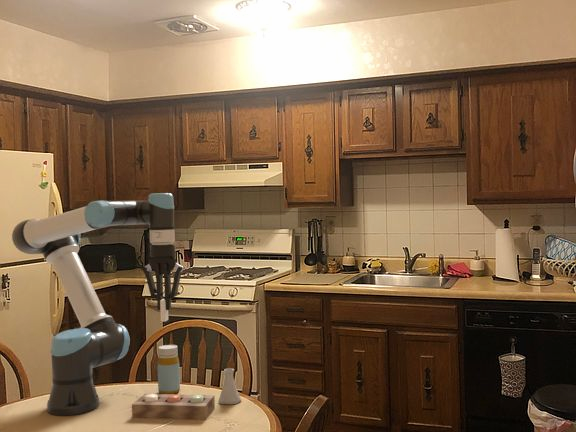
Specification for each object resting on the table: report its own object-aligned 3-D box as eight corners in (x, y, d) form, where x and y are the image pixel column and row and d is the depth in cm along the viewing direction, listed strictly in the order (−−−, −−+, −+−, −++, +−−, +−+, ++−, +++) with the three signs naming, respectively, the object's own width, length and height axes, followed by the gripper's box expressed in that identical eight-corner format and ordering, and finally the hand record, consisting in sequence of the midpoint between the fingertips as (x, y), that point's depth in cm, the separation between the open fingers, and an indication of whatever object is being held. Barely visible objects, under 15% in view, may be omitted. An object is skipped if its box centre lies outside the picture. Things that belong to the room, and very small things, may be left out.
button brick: (165, 410, 181) (165, 398, 181) (170, 406, 185) (169, 394, 185) (178, 410, 181) (177, 398, 181) (182, 406, 184) (181, 394, 184)
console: (132, 417, 180) (131, 404, 180) (145, 406, 189) (144, 393, 189) (205, 420, 176) (205, 406, 176) (214, 408, 186) (214, 395, 186)
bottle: (177, 395, 201) (176, 349, 200) (156, 395, 201) (155, 349, 200) (181, 388, 208) (180, 344, 207) (161, 389, 208) (159, 344, 207)
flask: (237, 405, 188) (237, 373, 188) (215, 404, 190) (214, 372, 190) (243, 398, 196) (243, 367, 195) (221, 397, 197) (221, 366, 197)
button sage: (188, 410, 180) (188, 398, 180) (192, 406, 184) (192, 394, 184) (201, 411, 180) (201, 399, 180) (205, 406, 183) (204, 395, 183)
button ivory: (142, 409, 182) (142, 397, 182) (147, 405, 186) (147, 394, 186) (155, 410, 182) (154, 398, 182) (159, 405, 186) (159, 394, 185)
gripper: (137, 244, 186) (139, 323, 186) (179, 244, 184) (181, 323, 184) (146, 243, 193) (148, 318, 193) (186, 242, 191) (188, 318, 192)
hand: (164, 320), depth 189 cm, fingers closed
